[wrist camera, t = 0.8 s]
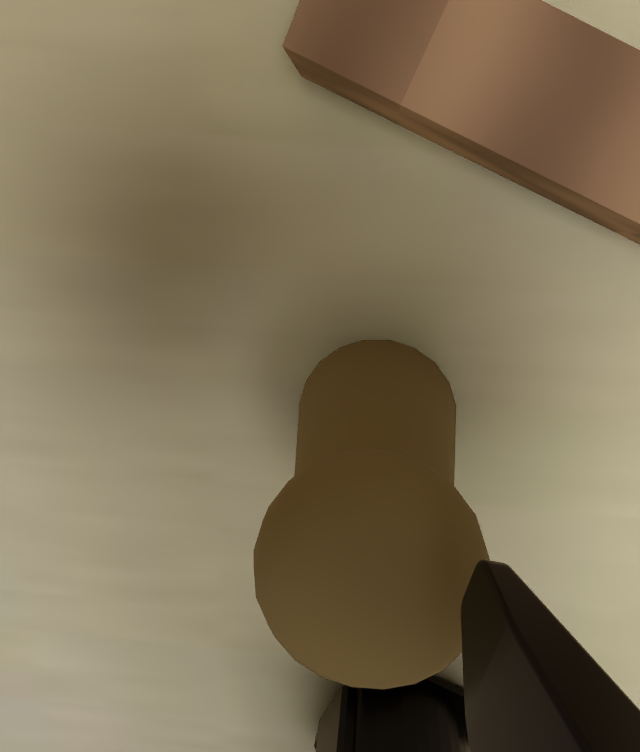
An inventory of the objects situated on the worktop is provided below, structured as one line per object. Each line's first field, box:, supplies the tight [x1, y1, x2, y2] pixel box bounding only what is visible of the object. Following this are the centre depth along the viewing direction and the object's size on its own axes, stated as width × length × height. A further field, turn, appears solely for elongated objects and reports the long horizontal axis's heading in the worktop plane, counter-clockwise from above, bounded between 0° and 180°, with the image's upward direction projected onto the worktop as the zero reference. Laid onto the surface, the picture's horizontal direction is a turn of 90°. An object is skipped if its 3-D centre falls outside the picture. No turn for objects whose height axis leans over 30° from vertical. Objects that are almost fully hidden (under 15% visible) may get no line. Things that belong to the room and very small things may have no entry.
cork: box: [254, 340, 490, 689], centre depth 16 cm, size 6×6×11 cm
